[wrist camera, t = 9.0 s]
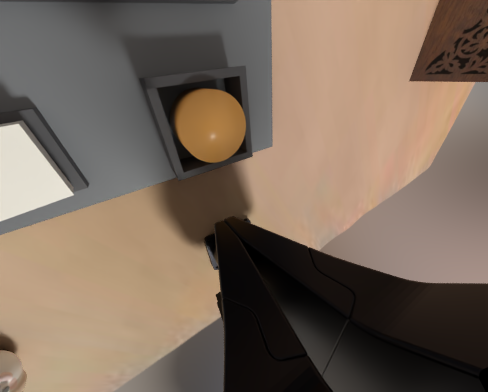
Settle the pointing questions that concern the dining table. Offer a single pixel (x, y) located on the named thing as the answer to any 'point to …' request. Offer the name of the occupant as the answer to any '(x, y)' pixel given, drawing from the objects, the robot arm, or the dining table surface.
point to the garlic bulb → (11, 373)
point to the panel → (128, 86)
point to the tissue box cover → (455, 44)
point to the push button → (208, 123)
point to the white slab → (27, 173)
